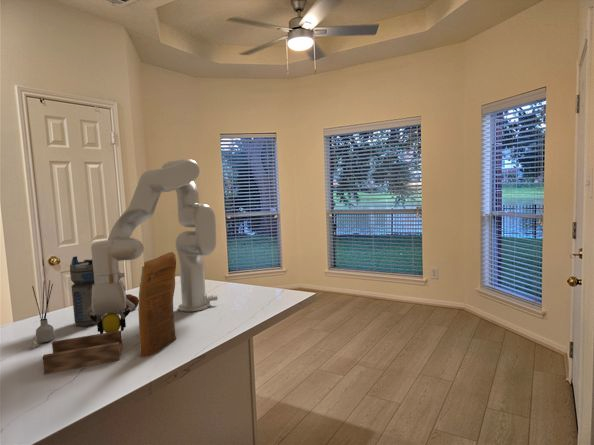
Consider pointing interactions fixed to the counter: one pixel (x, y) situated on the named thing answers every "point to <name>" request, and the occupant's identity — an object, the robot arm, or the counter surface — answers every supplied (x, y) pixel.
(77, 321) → the beverage bottle
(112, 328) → the lemon
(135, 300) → the potato
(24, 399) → the counter surface
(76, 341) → the u rest
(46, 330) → the reed diffuser
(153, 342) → the pancake mix bag
